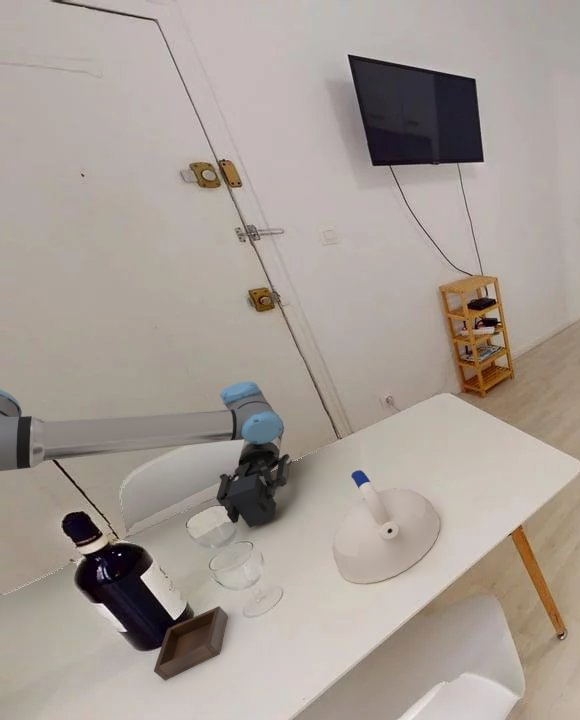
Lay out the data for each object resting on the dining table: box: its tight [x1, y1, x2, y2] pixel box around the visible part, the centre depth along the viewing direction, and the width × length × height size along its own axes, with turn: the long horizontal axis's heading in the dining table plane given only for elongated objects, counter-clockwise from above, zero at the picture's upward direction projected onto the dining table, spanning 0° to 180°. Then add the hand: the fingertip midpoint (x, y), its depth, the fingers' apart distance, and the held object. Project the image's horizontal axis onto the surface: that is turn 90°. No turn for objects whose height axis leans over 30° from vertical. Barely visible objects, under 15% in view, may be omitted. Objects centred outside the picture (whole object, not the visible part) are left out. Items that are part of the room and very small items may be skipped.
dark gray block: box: [228, 474, 277, 529], centre depth 94 cm, size 4×6×10 cm
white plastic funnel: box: [331, 469, 441, 585], centre depth 86 cm, size 20×21×18 cm
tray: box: [153, 605, 229, 681], centre depth 72 cm, size 7×8×3 cm
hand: (247, 512), depth 89 cm, fingers closed on dark gray block, 4 cm apart
